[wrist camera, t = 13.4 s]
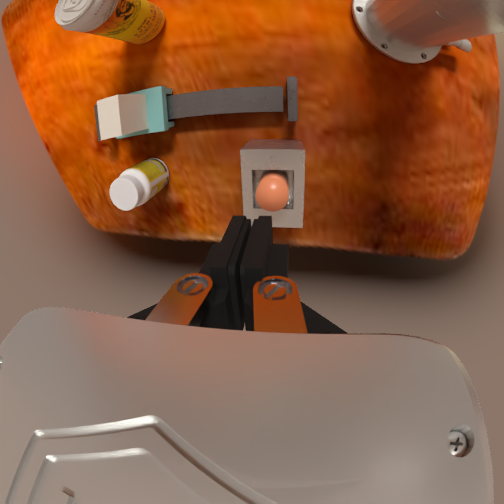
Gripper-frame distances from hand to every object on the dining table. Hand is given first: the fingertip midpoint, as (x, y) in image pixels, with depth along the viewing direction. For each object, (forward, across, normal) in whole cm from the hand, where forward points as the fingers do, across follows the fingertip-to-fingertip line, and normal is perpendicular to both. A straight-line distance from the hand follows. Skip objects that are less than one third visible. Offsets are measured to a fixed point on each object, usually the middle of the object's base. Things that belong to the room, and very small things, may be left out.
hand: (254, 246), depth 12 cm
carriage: (+23, +16, -7) cm, 29 cm away
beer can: (+23, +16, -20) cm, 34 cm away
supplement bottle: (+23, +17, +2) cm, 28 cm away
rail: (+23, +10, -7) cm, 26 cm away
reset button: (+17, 0, +2) cm, 17 cm away
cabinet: (+23, 0, +2) cm, 23 cm away
